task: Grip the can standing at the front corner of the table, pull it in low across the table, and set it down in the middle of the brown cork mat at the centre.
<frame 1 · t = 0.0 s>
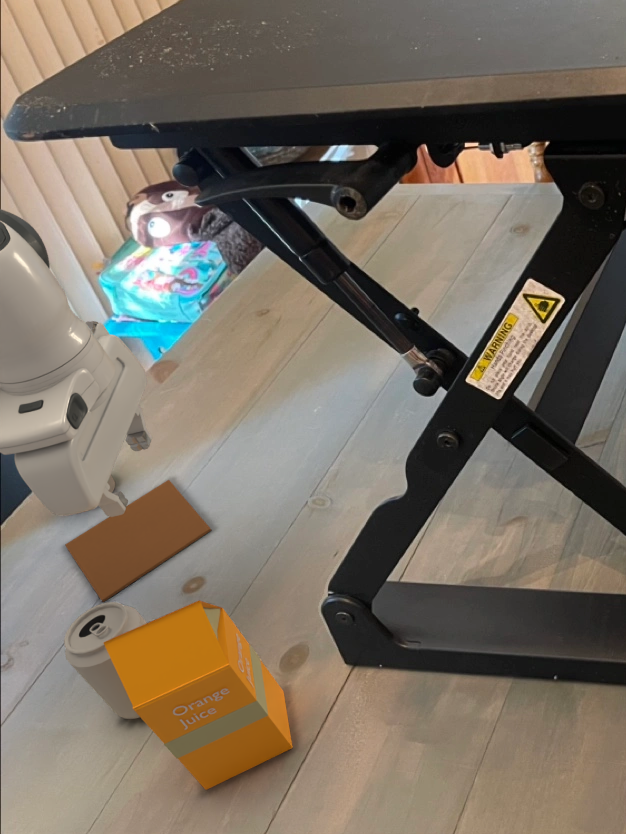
hand: (132, 477, 108), 23 cm above the table, tool pointing down, fingers open, 8 cm apart
orange juice: (246, 739, 109), on the table
mat: (138, 538, 135), on the table
can: (152, 693, 115), on the table
coffee cup: (94, 494, 143), on the table
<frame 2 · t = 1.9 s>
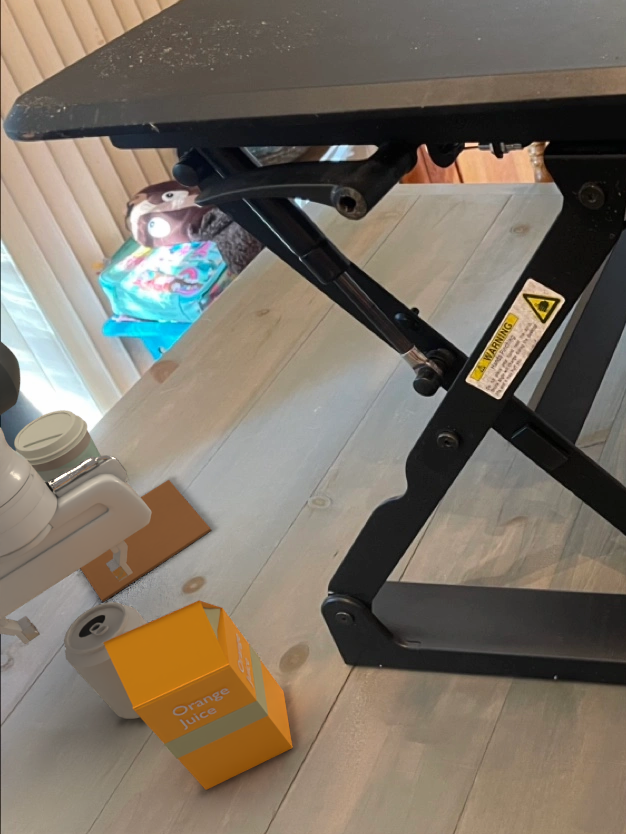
hand: (78, 604, 106), 15 cm above the table, tool pointing down, fingers open, 8 cm apart
nothing on the table moved.
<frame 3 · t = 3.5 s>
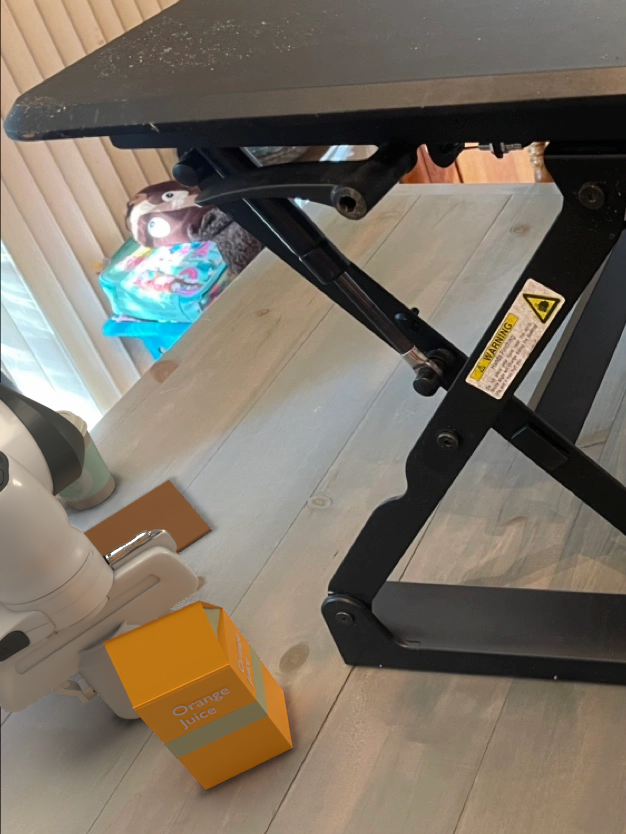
hand: (129, 667, 112), 5 cm above the table, tool pointing down, fingers closed on can, 7 cm apart
can: (152, 693, 115), on the table, touching gripper
everything else where it was.
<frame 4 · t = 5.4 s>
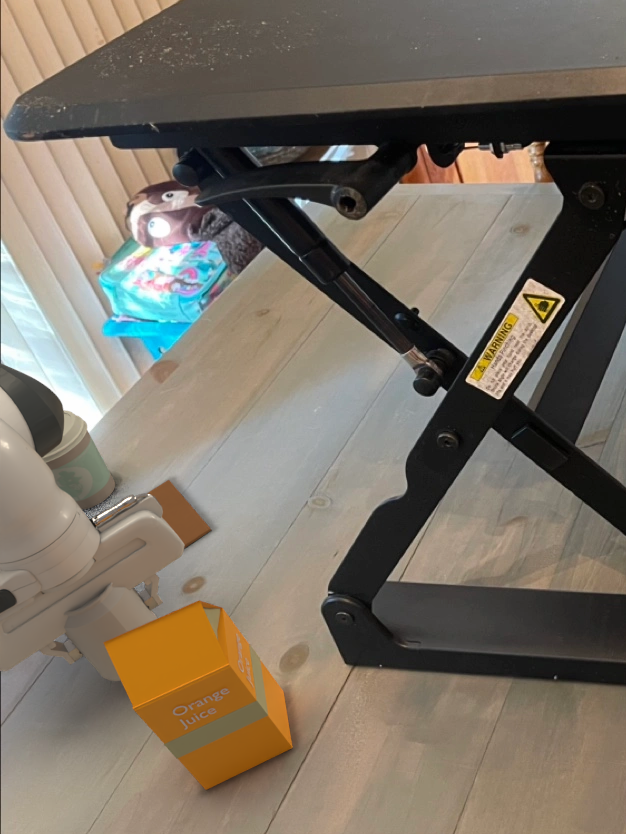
hand: (115, 630, 114), 7 cm above the table, tool pointing down, fingers closed on can, 7 cm apart
can: (138, 656, 117), point 2 cm above the table, touching gripper
everything else where it was.
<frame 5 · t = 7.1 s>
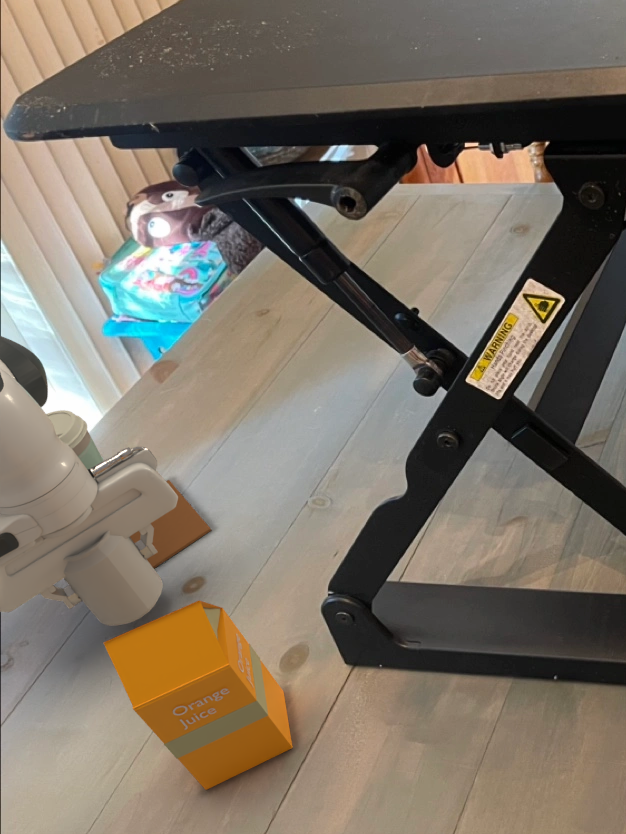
hand: (112, 577, 120), 7 cm above the table, tool pointing down, fingers closed on can, 7 cm apart
can: (134, 604, 123), point 2 cm above the table, touching gripper
everything else where it was.
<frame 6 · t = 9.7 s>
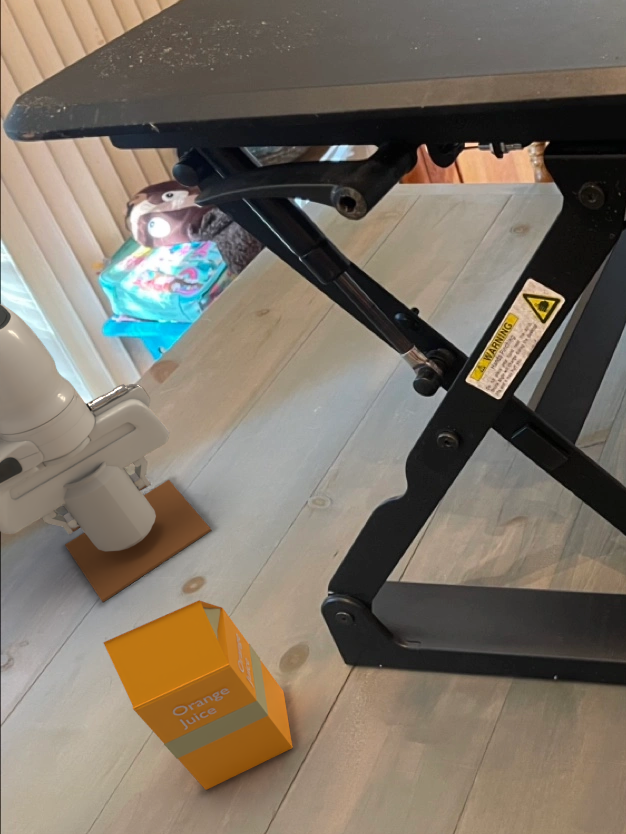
hand: (109, 507, 130), 7 cm above the table, tool pointing down, fingers closed on can, 7 cm apart
can: (129, 533, 133), point 2 cm above the table, touching gripper
everything else where it was.
when the fingers open (5 cm above the table, at t = 11.1 s): can stays where it is, resting on mat.
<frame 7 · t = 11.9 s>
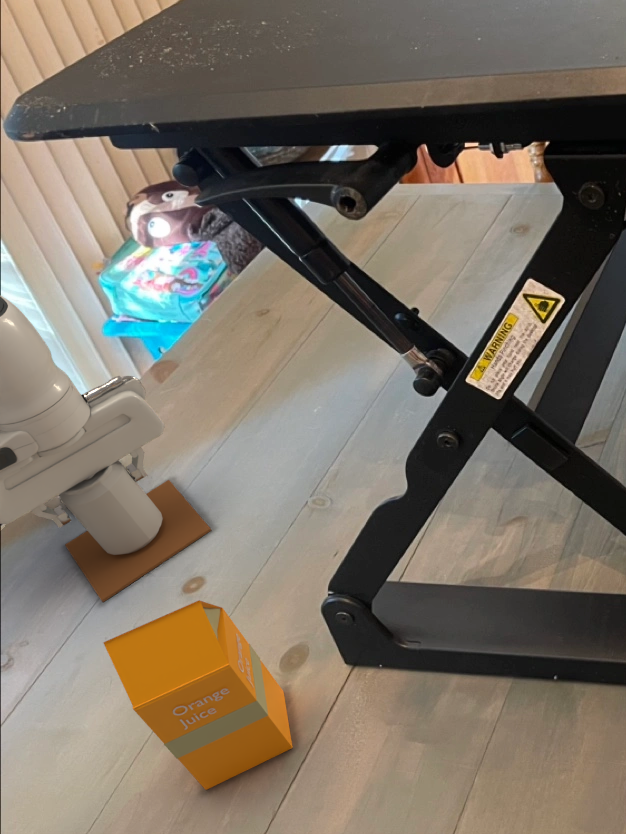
hand: (103, 499, 130), 8 cm above the table, tool pointing down, fingers open, 8 cm apart
can: (137, 536, 135), resting on mat, touching gripper
everything else where it was.
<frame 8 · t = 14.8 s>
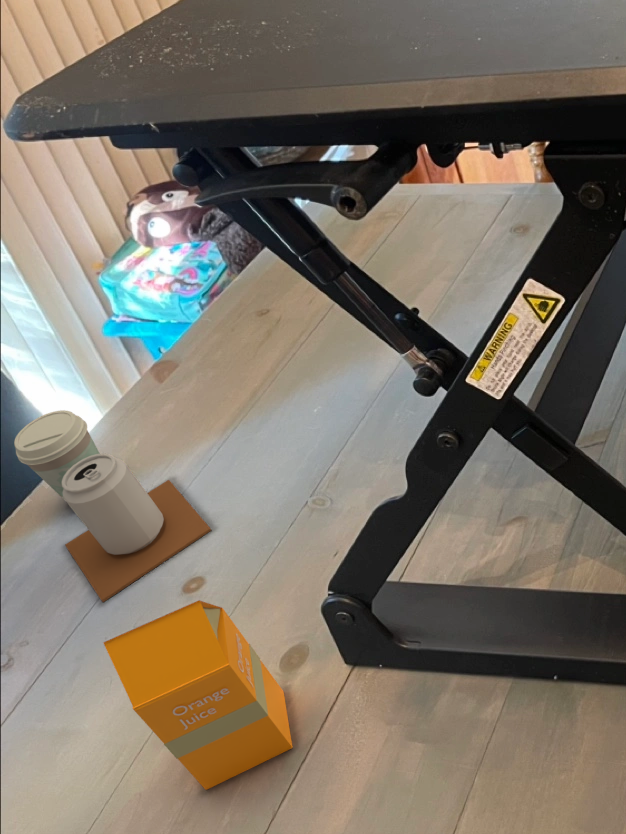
can: (137, 536, 135), resting on mat
everything else where it was.
at the end: can inside the target area on the mat (0.1 cm from its centre), point 0.2 cm above the mat's base; can tilted 0°; the gripper is holding nothing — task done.
